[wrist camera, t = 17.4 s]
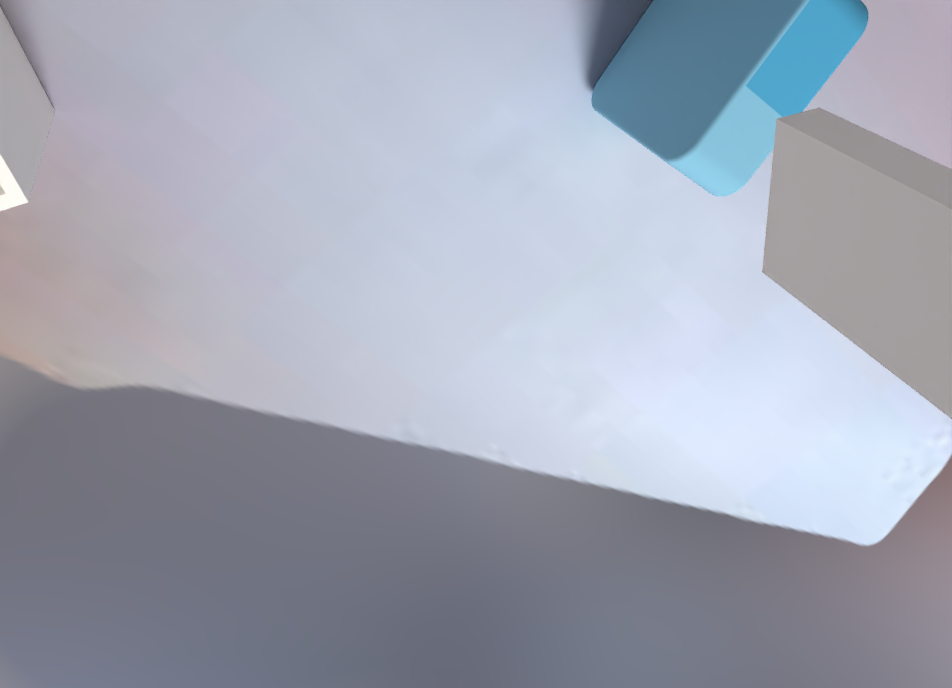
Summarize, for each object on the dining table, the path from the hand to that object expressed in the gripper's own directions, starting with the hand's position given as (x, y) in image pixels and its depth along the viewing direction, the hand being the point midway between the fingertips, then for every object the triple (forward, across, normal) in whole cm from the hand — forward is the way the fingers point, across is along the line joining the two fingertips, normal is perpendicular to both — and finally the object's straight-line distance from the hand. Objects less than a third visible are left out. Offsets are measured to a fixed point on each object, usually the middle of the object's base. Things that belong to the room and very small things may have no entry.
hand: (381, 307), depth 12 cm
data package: (+37, +25, -10) cm, 46 cm away
